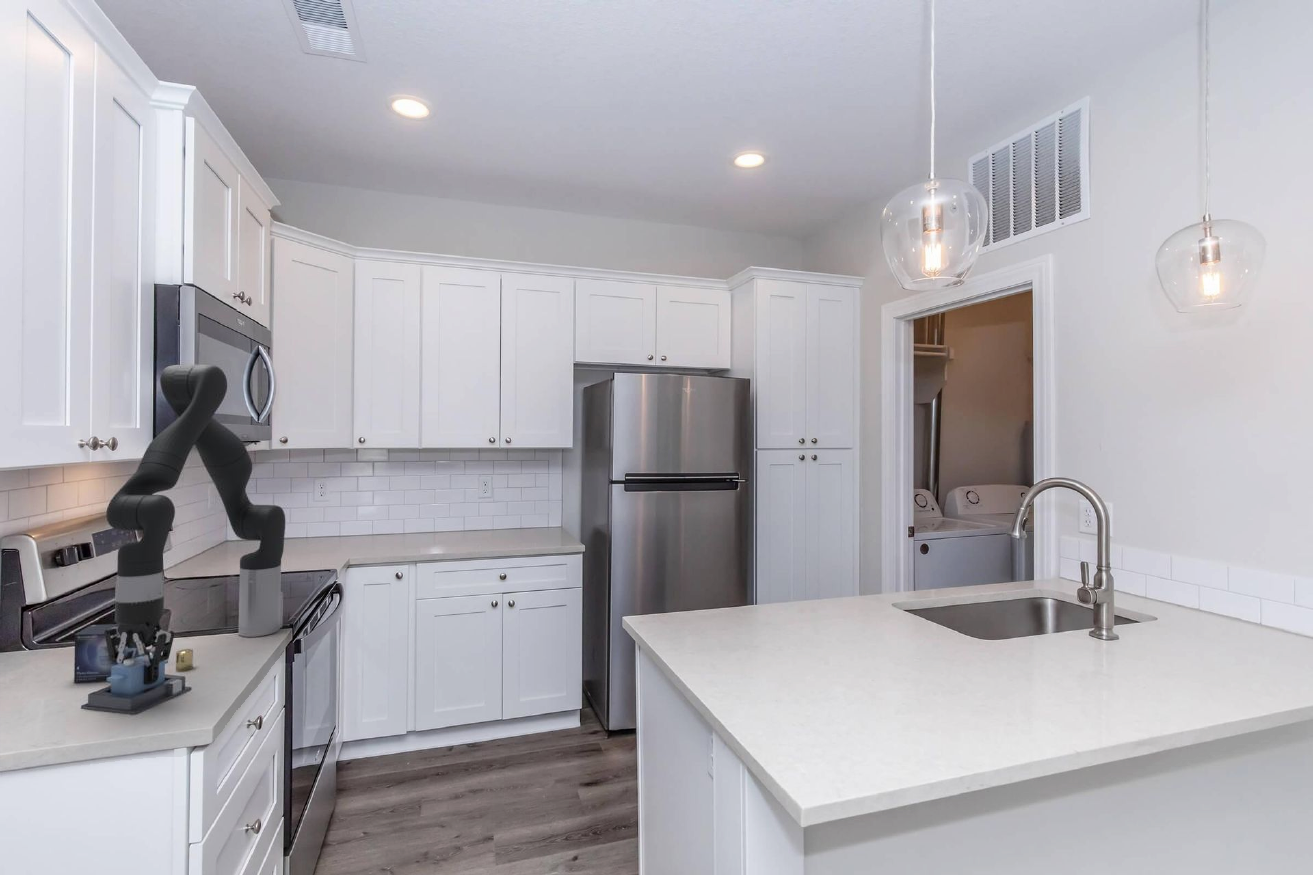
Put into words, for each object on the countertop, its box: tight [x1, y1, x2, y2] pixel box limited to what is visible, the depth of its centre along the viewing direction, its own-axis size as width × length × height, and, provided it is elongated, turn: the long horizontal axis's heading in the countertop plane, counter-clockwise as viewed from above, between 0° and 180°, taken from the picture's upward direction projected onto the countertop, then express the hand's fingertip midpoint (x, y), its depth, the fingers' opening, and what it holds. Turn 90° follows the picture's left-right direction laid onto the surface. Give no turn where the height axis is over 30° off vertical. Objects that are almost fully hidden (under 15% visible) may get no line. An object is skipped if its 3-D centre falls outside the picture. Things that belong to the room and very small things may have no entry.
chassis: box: [80, 673, 192, 716], centre depth 127 cm, size 12×12×3 cm
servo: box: [106, 654, 169, 695], centre depth 127 cm, size 10×4×6 cm, turn 170°
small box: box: [73, 623, 140, 684], centre depth 137 cm, size 11×6×10 cm, turn 105°
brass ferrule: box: [175, 648, 194, 673], centre depth 143 cm, size 3×3×4 cm
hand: (138, 681), depth 127 cm, fingers open, 5 cm apart
